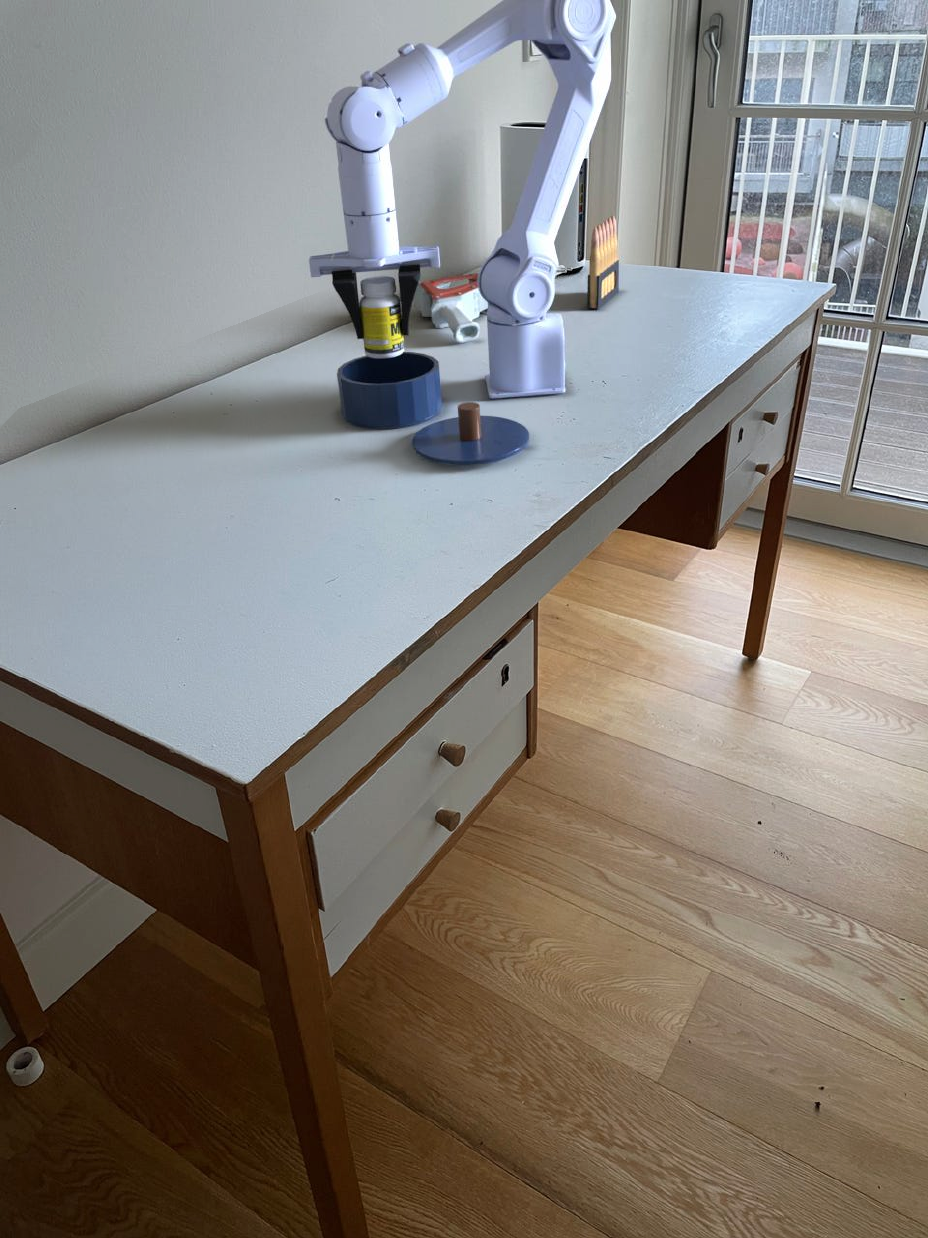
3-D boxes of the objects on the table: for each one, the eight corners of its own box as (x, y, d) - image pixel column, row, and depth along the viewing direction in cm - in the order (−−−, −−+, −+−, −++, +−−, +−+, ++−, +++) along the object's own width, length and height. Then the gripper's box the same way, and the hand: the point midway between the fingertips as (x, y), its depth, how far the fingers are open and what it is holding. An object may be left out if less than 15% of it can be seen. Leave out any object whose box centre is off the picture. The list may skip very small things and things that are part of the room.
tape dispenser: (468, 357, 140) (535, 311, 153) (466, 321, 137) (534, 277, 150) (369, 338, 148) (441, 296, 161) (365, 303, 145) (439, 263, 158)
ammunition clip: (598, 310, 151) (599, 228, 145) (586, 309, 152) (587, 227, 145) (618, 291, 159) (620, 213, 153) (607, 291, 160) (609, 213, 153)
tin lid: (475, 415, 117) (473, 377, 114) (553, 443, 108) (553, 402, 106) (389, 448, 110) (385, 408, 107) (466, 481, 101) (463, 438, 99)
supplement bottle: (399, 359, 113) (391, 285, 109) (360, 359, 114) (351, 285, 110) (409, 346, 117) (402, 274, 112) (371, 346, 118) (363, 275, 113)
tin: (440, 389, 125) (437, 348, 122) (443, 425, 115) (440, 380, 112) (345, 397, 125) (340, 355, 122) (340, 432, 115) (333, 388, 112)
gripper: (300, 223, 104) (318, 349, 111) (436, 212, 104) (445, 339, 111) (305, 210, 110) (322, 331, 117) (434, 200, 110) (443, 322, 117)
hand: (382, 334), depth 114 cm, fingers closed on supplement bottle, 5 cm apart
